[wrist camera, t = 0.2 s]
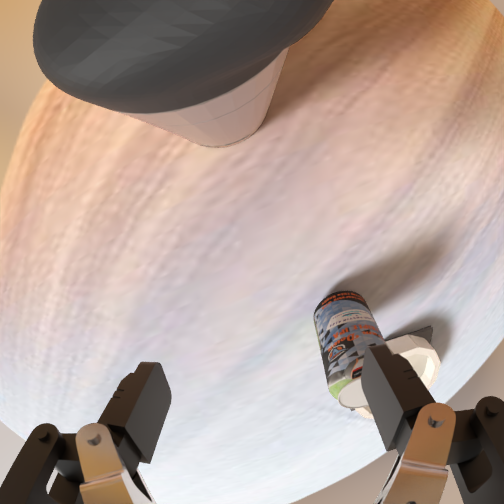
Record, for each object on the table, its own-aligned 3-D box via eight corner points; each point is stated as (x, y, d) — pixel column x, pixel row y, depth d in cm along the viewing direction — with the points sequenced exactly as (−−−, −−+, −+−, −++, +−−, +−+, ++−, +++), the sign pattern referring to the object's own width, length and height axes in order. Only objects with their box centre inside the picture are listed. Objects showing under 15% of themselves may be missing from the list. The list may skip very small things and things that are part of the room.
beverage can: (367, 285, 29) (421, 347, 17) (353, 340, 31) (390, 411, 19) (313, 283, 28) (349, 354, 17) (303, 341, 31) (326, 420, 19)
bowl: (350, 351, 31) (357, 366, 28) (436, 324, 30) (447, 335, 27) (347, 413, 34) (352, 428, 31) (421, 388, 34) (429, 400, 31)
